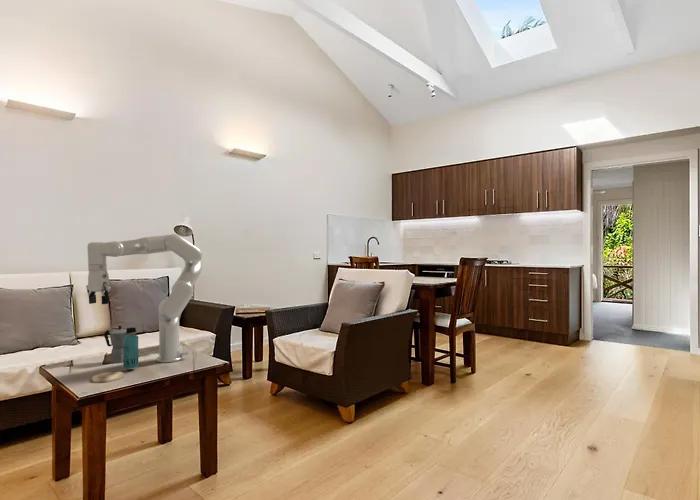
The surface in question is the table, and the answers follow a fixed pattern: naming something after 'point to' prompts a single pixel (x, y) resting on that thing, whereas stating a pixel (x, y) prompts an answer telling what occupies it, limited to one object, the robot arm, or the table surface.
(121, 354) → the coffeepot
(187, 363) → the table surface
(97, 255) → the robot arm
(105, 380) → the disc
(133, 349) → the beverage bottle
